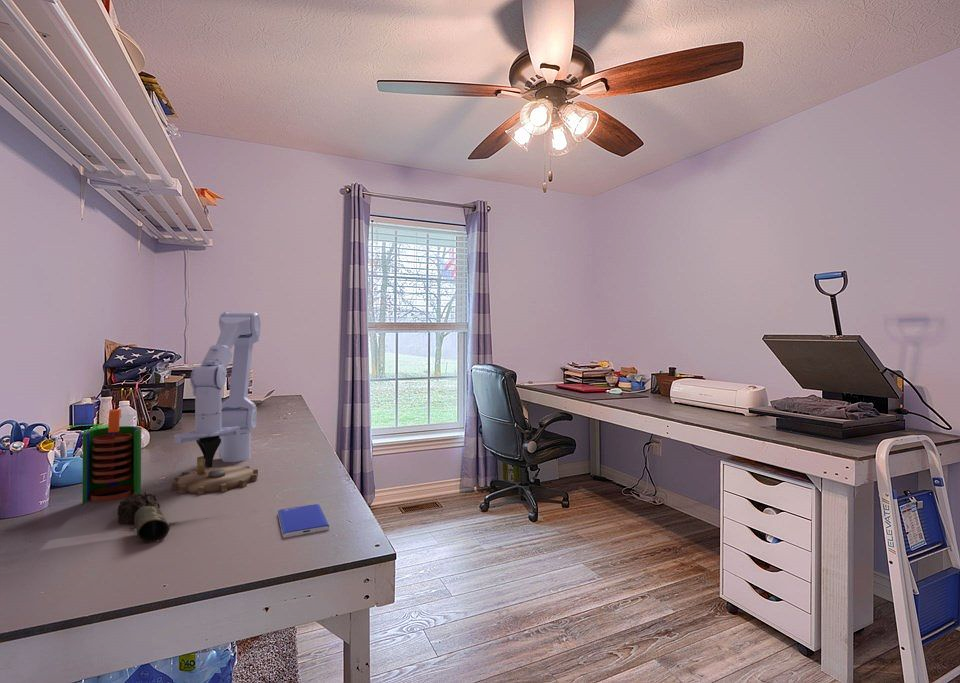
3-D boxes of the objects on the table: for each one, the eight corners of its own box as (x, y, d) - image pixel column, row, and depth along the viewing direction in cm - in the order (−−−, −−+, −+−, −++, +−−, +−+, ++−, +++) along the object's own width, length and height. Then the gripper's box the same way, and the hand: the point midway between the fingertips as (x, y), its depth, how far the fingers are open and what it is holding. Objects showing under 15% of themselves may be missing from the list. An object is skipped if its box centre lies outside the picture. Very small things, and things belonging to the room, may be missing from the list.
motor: (82, 511, 96) (82, 415, 95) (82, 499, 102) (82, 410, 102) (142, 500, 102) (143, 411, 102) (138, 490, 109) (139, 406, 109)
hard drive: (277, 509, 95) (283, 532, 84) (319, 503, 98) (329, 524, 88) (277, 517, 95) (282, 540, 84) (319, 510, 98) (329, 532, 88)
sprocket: (274, 475, 117) (275, 454, 117) (209, 498, 100) (210, 473, 100) (222, 467, 124) (222, 447, 124) (152, 488, 107) (153, 465, 107)
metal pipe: (169, 539, 83) (169, 509, 83) (122, 551, 79) (122, 519, 79) (156, 511, 96) (156, 484, 96) (115, 519, 92) (115, 492, 92)
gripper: (180, 419, 107) (181, 476, 107) (245, 411, 118) (245, 464, 118) (171, 415, 112) (171, 470, 112) (234, 408, 123) (234, 459, 123)
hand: (208, 467), depth 115 cm, fingers closed
